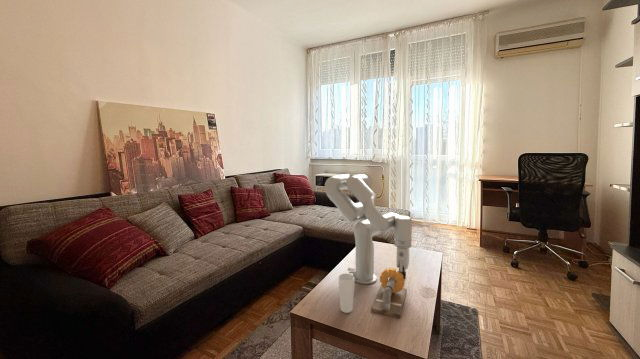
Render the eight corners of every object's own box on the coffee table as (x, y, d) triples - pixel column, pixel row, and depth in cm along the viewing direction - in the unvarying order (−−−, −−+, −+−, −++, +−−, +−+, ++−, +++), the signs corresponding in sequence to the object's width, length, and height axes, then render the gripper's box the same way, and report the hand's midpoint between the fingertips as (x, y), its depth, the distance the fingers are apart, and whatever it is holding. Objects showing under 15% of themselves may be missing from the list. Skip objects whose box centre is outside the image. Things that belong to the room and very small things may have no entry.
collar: (379, 290, 132) (380, 268, 130) (380, 288, 133) (381, 266, 132) (403, 295, 127) (404, 272, 126) (404, 292, 129) (405, 270, 127)
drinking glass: (344, 303, 124) (344, 271, 122) (357, 309, 120) (357, 276, 118) (335, 310, 119) (335, 277, 117) (348, 316, 115) (348, 282, 113)
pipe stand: (371, 311, 118) (371, 291, 117) (381, 286, 138) (381, 269, 137) (400, 318, 114) (400, 297, 112) (406, 291, 134) (407, 273, 132)
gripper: (409, 249, 121) (408, 288, 124) (412, 238, 135) (411, 274, 137) (392, 246, 124) (391, 285, 127) (396, 236, 138) (396, 271, 140)
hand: (401, 279), depth 132 cm, fingers closed
